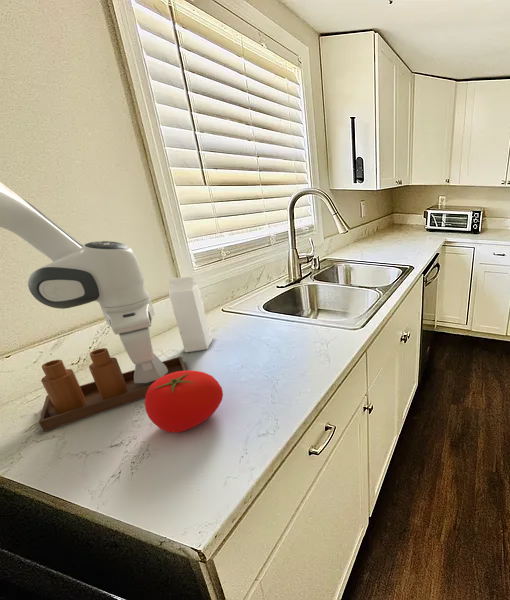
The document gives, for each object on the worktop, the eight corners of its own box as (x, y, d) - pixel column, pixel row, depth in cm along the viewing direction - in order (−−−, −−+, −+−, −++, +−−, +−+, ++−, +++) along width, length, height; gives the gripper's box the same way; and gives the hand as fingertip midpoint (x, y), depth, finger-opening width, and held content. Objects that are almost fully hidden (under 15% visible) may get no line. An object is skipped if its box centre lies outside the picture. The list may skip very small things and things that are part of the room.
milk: (207, 349, 98) (189, 279, 90) (184, 352, 96) (164, 281, 88) (212, 340, 103) (196, 273, 95) (190, 343, 102) (172, 275, 93)
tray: (43, 431, 67) (38, 422, 66) (50, 404, 75) (46, 395, 74) (190, 382, 82) (187, 373, 81) (183, 363, 90) (180, 356, 89)
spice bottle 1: (56, 419, 70) (33, 372, 66) (59, 408, 74) (37, 362, 69) (86, 410, 73) (66, 364, 68) (87, 399, 76) (68, 354, 72)
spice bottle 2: (102, 404, 74) (83, 359, 70) (102, 394, 78) (84, 350, 74) (129, 396, 77) (112, 352, 73) (128, 386, 81) (112, 344, 76)
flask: (139, 371, 83) (127, 336, 80) (172, 365, 86) (161, 331, 82) (128, 387, 77) (114, 350, 73) (164, 380, 79) (152, 344, 76)
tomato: (181, 400, 75) (168, 358, 71) (237, 404, 74) (226, 361, 70) (135, 441, 64) (116, 393, 60) (200, 447, 63) (185, 398, 58)
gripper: (111, 302, 81) (129, 351, 86) (112, 330, 66) (133, 387, 71) (143, 296, 84) (158, 343, 89) (150, 322, 70) (167, 376, 75)
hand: (147, 363), depth 80 cm, fingers closed on flask, 5 cm apart
